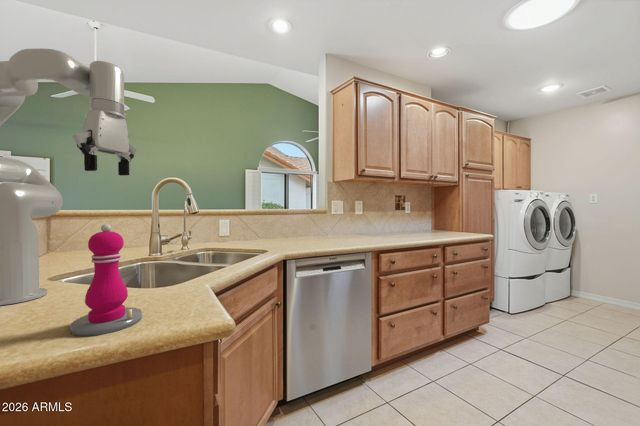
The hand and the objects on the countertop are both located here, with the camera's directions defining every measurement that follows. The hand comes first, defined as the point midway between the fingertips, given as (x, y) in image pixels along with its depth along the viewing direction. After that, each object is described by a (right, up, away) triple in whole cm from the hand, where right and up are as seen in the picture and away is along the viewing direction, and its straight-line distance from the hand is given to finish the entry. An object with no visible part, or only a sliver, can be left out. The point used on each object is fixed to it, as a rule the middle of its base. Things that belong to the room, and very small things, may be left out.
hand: (108, 173), depth 76 cm
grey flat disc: (+13, -35, -17) cm, 41 cm away
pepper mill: (+13, -34, -17) cm, 40 cm away
